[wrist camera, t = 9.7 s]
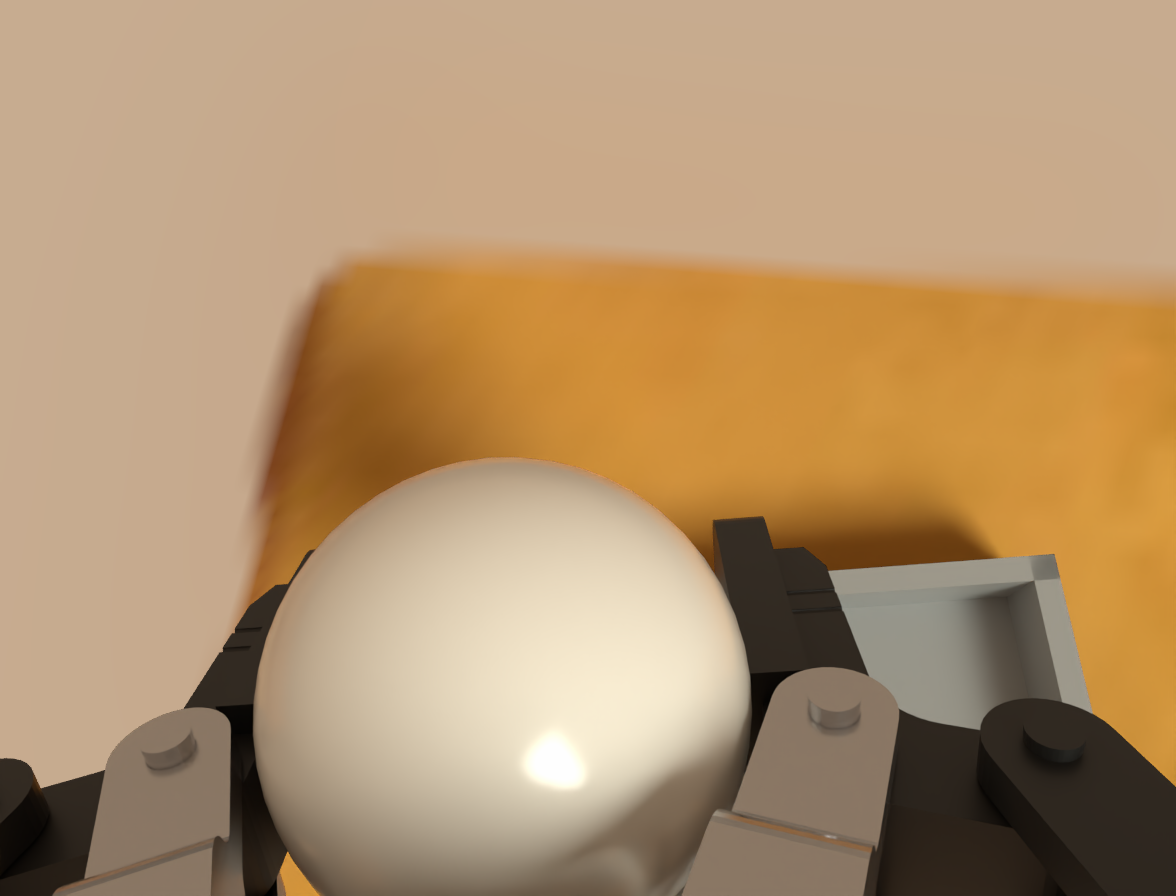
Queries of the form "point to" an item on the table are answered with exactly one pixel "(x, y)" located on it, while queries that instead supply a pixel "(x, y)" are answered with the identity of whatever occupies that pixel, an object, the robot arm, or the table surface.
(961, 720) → the grey compartment tray
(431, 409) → the table surface
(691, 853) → the cream rounded cylinder
